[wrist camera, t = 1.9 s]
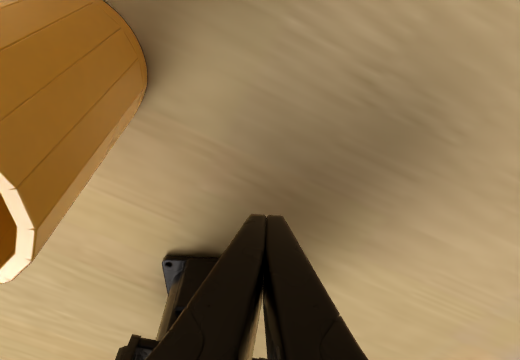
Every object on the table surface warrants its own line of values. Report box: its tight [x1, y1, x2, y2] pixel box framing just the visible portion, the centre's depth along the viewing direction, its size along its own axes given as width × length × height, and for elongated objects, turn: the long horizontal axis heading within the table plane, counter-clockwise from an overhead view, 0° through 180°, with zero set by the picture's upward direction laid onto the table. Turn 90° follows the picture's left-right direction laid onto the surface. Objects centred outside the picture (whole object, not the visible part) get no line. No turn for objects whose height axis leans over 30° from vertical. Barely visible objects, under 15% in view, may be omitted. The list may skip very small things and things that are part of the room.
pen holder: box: [0, 0, 147, 284], centre depth 14 cm, size 7×7×11 cm
